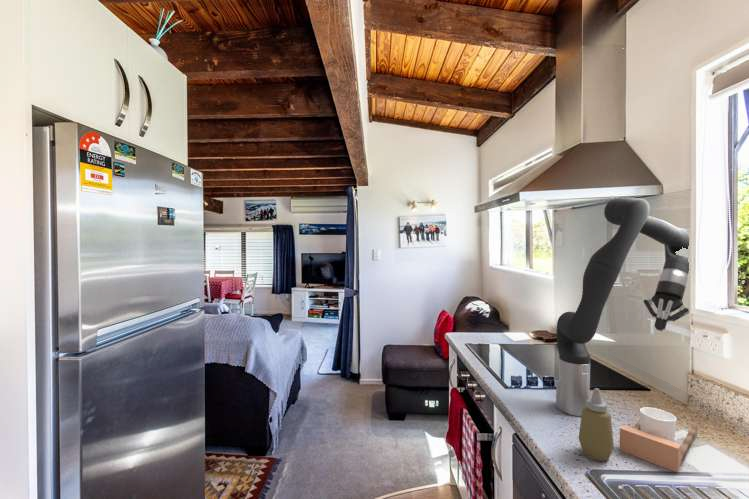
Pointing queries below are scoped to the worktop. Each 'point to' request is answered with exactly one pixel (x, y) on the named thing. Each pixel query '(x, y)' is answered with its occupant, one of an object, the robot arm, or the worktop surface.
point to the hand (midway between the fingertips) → (659, 329)
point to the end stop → (650, 448)
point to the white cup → (658, 423)
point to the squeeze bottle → (596, 429)
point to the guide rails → (686, 442)
